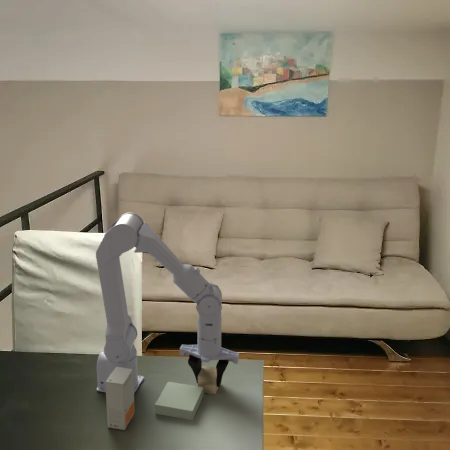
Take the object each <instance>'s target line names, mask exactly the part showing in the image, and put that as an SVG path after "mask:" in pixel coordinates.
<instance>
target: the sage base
mask: <svg viewBox="0 0 450 450" xmlns="http://www.w3.org/2000/svg"><path fill="white" fill-rule="evenodd" d="M203 397H204V393H203V387H199V386H198V385H193V384H187V383H185V384H184V383H180V382H179V383H178V382H175V381H174V382H173V381H167V383H166V385H165V386H164V388H163V389H162V392H161V393H160V395H159V397H158V398H157V400H156V402H155V404H154V414H155V415H161V416H167V417H172V418H178V419H184V420H188V421H193V420H194V418H195V416H196V413H197V411H198V409H199V406H200V405H201V402H202V401H203Z"/></svg>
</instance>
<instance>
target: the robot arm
mask: <svg viewBox="0 0 450 450" xmlns="http://www.w3.org/2000/svg"><path fill="white" fill-rule="evenodd" d="M134 248H135V249H134ZM132 249H134V251H133V252H134V253H137V254H138V253H148V254H149V255H150V256H151V257H153V258H154V259H155V261H158V263H159V264H161V265H162V266H163V268H164V269H166V270H167V271H168V272H170V274H172V276H173V278H172V279H173V280H172V281H173V283H174V284H175V285H176V286H177V287H178V288H179V289H180V290H181V291H182V292H183V294H185V295H186V296H187V297H188V298H189V300H191V301H192V302H194V304H196V306H195V309H196V311H197V313H198V316H197V344H181V345H180V347H179V356H182V357H184V356H188V360H187V363H188V366H189V367H190V369H191V371H192V372H193V375H194V378H195V381H196V384H197V385H198V375H199V373H200V371H201V369H202V367H203V365H202V364H203V363H209V362H211V361H217V362H216V366H215V368H216V370H217V387H218V388H220V387H221V384H222V381H223V380H222V379H223V376H224V373H225V371H226V369H227V367H228V366H229V365H228V364H229V362H232V363H233V365H238V363H239V362H240V352H236V351H233V350H230V349H227V348H224V347H222V320H223V319H222V310H223V305H222V304H223V303H222V302H223V294H222V290H221V288H219V286H218V284H216V283H215V284H214V283H212V282H209V281H208V279H206V278H205V277H204V276H203V275H202V274H201V269H200V268H199V267H197V266H195V267H194V266H193V265H192V264H188V263H183V262H182V261H181V260H180V258H178V256H177V255H176V254H175V253H174V252H173V250H171V248H169V247H168V246H167V244H166V243H165V242H164V241H163V240H162V239H161V238H160V237H159V235H158V234H157V233H156V232H155V230H154V229H153V228H152V226H151V225H150V224H149V223H148V222H146V221H144V220H143V218H142V217H141V216H140V215H139V214H137V213H134V212H125V213H123V214H121V215H120V216H119V217H118V218H117V219H116V220H115V221H114V222H113V223H112V225H110V227H109V228H108V230H107V231H106V232H105V233H104V236H103V238H102V240H101V242H100V243H99V245H98V248H97V249H96V252H95V258H96V265H97V271H98V276H99V277H98V278H99V283H100V289H101V294H102V300H103V306H104V311H105V312H104V313H105V318H106V329H105V335H104V336H105V344H104V347H103V350H102V351H101V352H100V353H99V355H98V357H97V361H96V377H97V378H96V379H97V387H96V391H97V392H100V393H106V387H105V382H106V380H107V379H108V378H109V376H110V374H111V373H112V372H113V371H114V369H115V368H116V367H122V368H128V369H133V384H134V394H135V392H136V391H137V390H138V388H139V387H140V386H141V383H142V382H143V381H144V377H145V376H144V375H138V374H139V373H138V355H137V354H138V353H137V352H138V351H137V348H136V346H135V344H134V343H135V341H136V339H137V337H138V329H137V327H136V326H135V324H134V323H133V321H132V316H131V315H129V313H128V311H129V310H128V306H127V298H126V291H125V285H124V278H123V271H122V265H121V260H120V257H121V256H122V255H123V254H126V252H129V251H131V250H132Z"/></svg>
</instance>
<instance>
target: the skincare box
mask: <svg viewBox="0 0 450 450" xmlns="http://www.w3.org/2000/svg"><path fill="white" fill-rule="evenodd" d="M105 387H106V392H105V399H106V401H105V402H106V419H107V428H110V429H116V430H122V431H126V428H127V427H128V425H129V423H130V421H131V420H132V419H133V417H134V415H135V393H134V384H133V369H128V368H122V367H116V368H115V369H114V371H113V372H112V373H111V374H110V376H109V378H108V379H107V380H106V382H105Z"/></svg>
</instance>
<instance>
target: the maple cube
mask: <svg viewBox="0 0 450 450" xmlns="http://www.w3.org/2000/svg"><path fill="white" fill-rule="evenodd" d="M197 386H199V387H203V394H207V395H208V394H209V395H217V392H218V389H219V387H217V370H216V367H212V366H206V365H202V369H201V371H200V373H199V375H198V384H197Z"/></svg>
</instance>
